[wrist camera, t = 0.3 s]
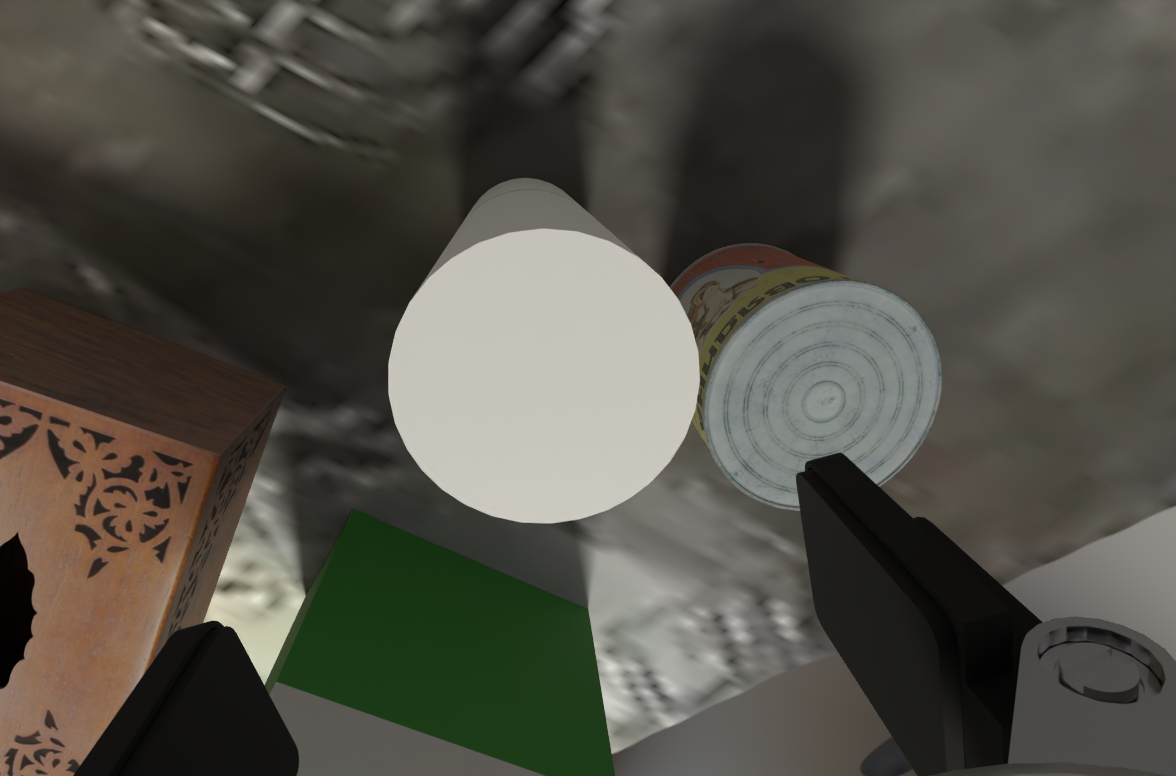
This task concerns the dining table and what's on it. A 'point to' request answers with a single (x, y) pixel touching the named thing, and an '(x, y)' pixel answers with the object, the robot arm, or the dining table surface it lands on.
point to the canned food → (804, 369)
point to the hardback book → (436, 668)
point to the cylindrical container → (541, 362)
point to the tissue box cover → (107, 513)
